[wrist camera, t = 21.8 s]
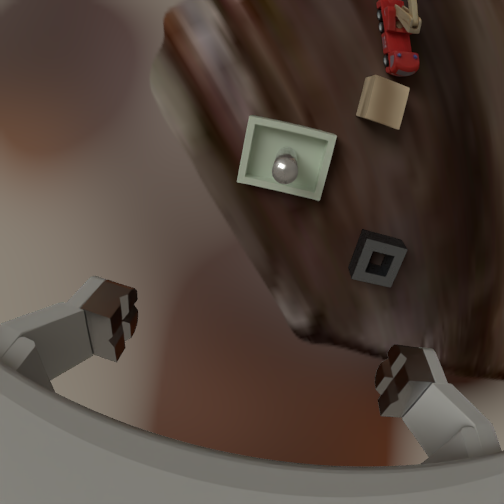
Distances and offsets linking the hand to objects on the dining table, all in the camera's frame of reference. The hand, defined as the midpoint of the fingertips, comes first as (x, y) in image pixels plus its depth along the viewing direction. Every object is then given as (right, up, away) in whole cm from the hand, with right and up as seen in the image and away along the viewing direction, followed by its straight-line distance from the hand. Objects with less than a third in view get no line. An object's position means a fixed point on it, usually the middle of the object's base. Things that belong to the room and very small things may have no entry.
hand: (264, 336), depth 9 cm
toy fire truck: (+16, +30, +18) cm, 38 cm away
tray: (+4, +14, +27) cm, 31 cm away
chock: (+14, +20, +23) cm, 34 cm away
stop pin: (+4, +14, +27) cm, 31 cm away
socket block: (+17, +2, +32) cm, 36 cm away
